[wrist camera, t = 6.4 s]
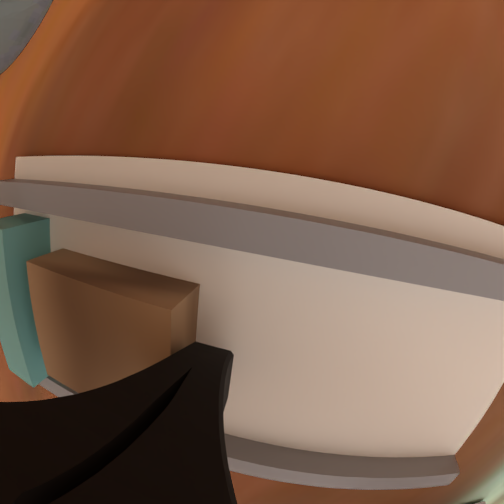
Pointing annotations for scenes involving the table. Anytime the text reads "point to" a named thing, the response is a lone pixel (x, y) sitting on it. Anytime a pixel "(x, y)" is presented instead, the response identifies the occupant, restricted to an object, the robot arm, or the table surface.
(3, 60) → the grey tapered pot
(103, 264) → the block
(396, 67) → the table surface
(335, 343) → the track
